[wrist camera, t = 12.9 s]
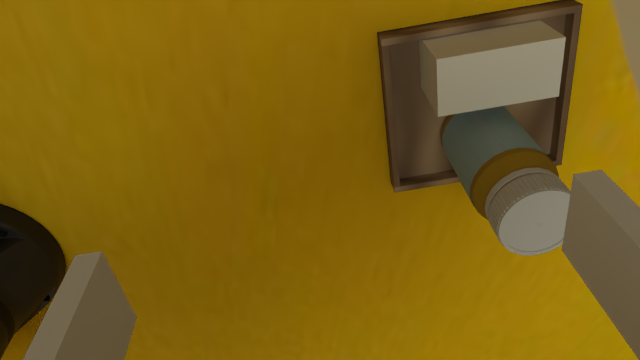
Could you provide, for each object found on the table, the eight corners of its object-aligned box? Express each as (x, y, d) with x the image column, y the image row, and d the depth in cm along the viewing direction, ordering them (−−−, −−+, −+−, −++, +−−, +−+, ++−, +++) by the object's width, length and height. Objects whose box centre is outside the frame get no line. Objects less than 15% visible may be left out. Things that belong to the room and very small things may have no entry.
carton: (421, 88, 47) (438, 116, 42) (418, 35, 44) (436, 59, 39) (528, 69, 46) (558, 96, 41) (533, 15, 44) (565, 37, 39)
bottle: (428, 117, 48) (480, 211, 36) (498, 83, 47) (577, 169, 34) (452, 170, 52) (507, 272, 39) (517, 140, 50) (596, 236, 38)
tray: (391, 181, 53) (394, 192, 51) (377, 32, 44) (381, 39, 42) (552, 154, 52) (561, 164, 51) (571, -2, 44) (582, 4, 42)
